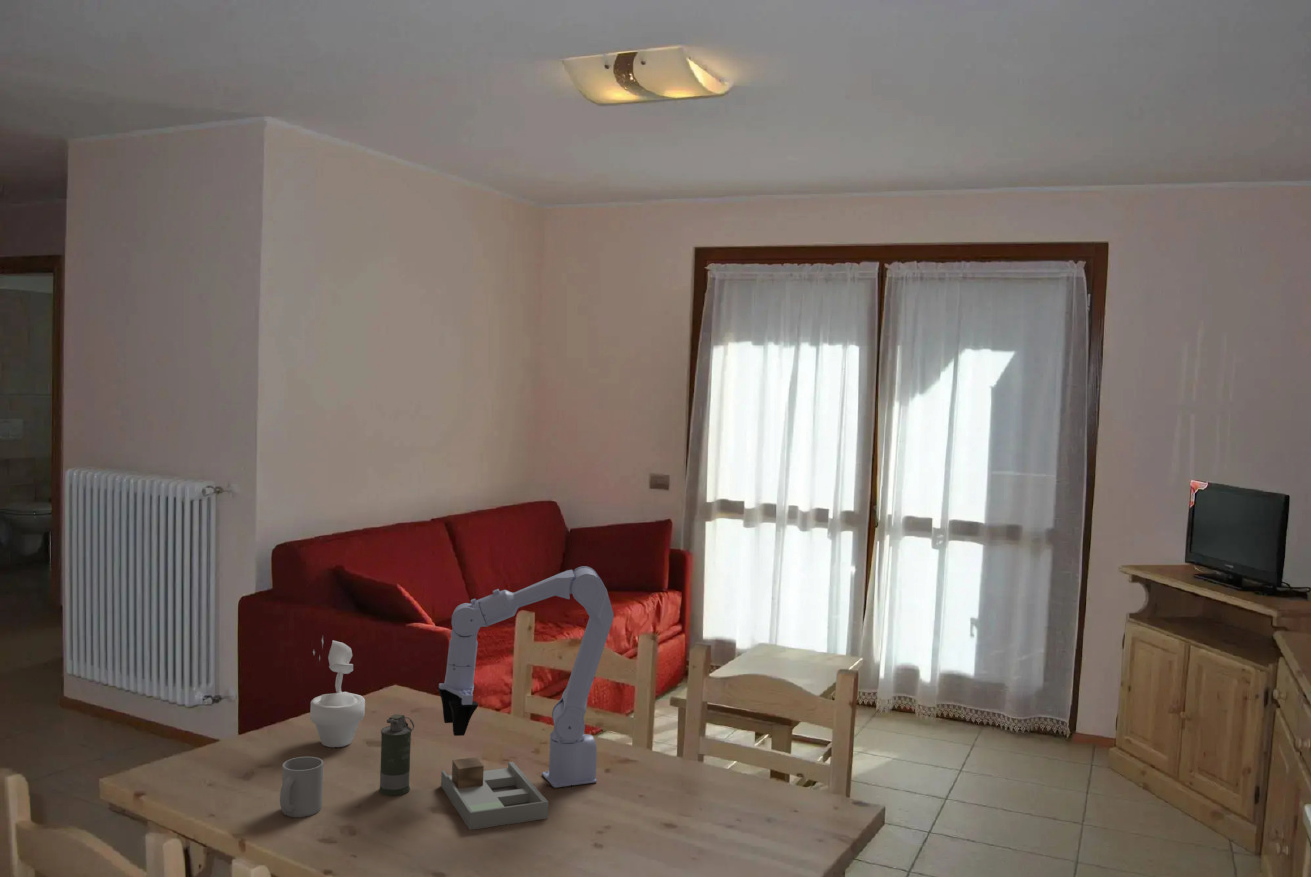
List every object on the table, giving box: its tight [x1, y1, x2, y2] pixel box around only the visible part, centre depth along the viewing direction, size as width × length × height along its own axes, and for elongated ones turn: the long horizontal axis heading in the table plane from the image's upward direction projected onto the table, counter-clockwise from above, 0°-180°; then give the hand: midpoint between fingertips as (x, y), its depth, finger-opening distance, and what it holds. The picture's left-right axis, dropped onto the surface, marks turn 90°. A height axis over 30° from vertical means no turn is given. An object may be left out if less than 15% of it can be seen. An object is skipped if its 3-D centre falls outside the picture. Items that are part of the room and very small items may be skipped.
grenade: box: [378, 713, 415, 797], centre depth 203 cm, size 6×6×15 cm
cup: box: [279, 756, 324, 818], centre depth 191 cm, size 7×10×9 cm
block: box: [451, 756, 485, 789], centre depth 204 cm, size 5×5×4 cm
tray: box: [440, 761, 549, 831], centre depth 200 cm, size 15×22×3 cm
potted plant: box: [309, 636, 366, 748], centre depth 227 cm, size 13×12×25 cm
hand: (454, 728), depth 209 cm, fingers open, 7 cm apart
